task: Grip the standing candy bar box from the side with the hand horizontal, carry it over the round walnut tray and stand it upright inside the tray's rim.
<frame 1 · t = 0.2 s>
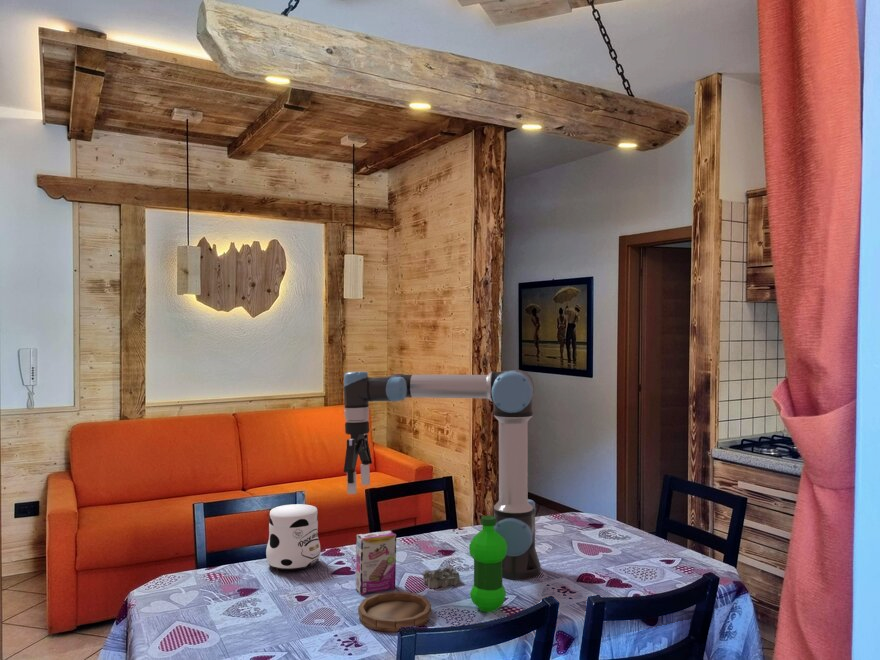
hand: (359, 489, 208), 27 cm above the table, tool pointing down, fingers open, 13 cm apart
plastic bottle: (488, 608, 185), on the table
candy bar box: (375, 590, 198), on the table
tray: (394, 616, 179), on the table
milk container: (293, 565, 218), on the table
egg carton: (440, 584, 203), on the table
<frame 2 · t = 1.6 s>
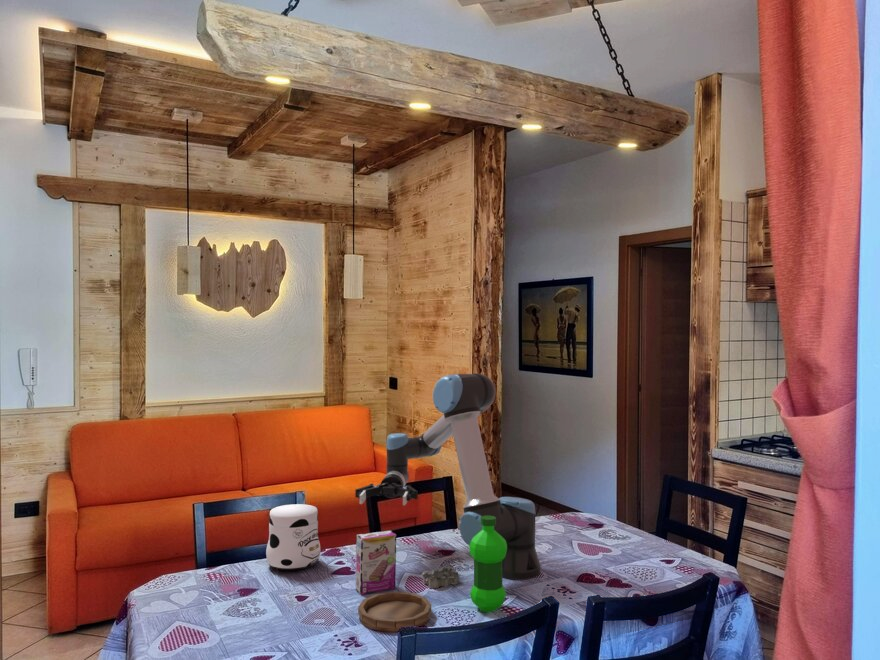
hand: (382, 500, 207), 24 cm above the table, tool horizontal, fingers open, 13 cm apart
nothing on the table moved.
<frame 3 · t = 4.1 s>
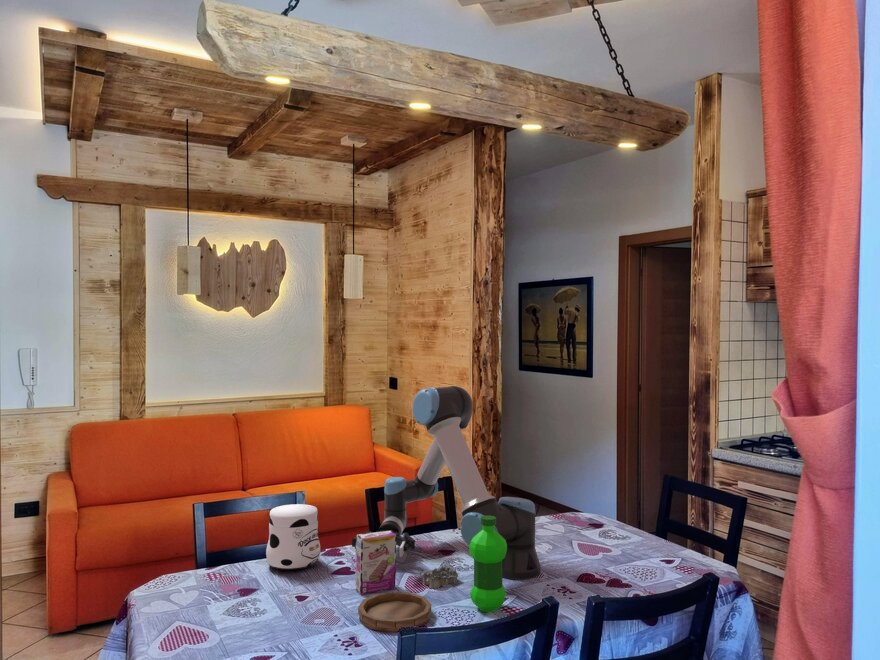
hand: (378, 551, 204), 9 cm above the table, tool horizontal, fingers open, 13 cm apart
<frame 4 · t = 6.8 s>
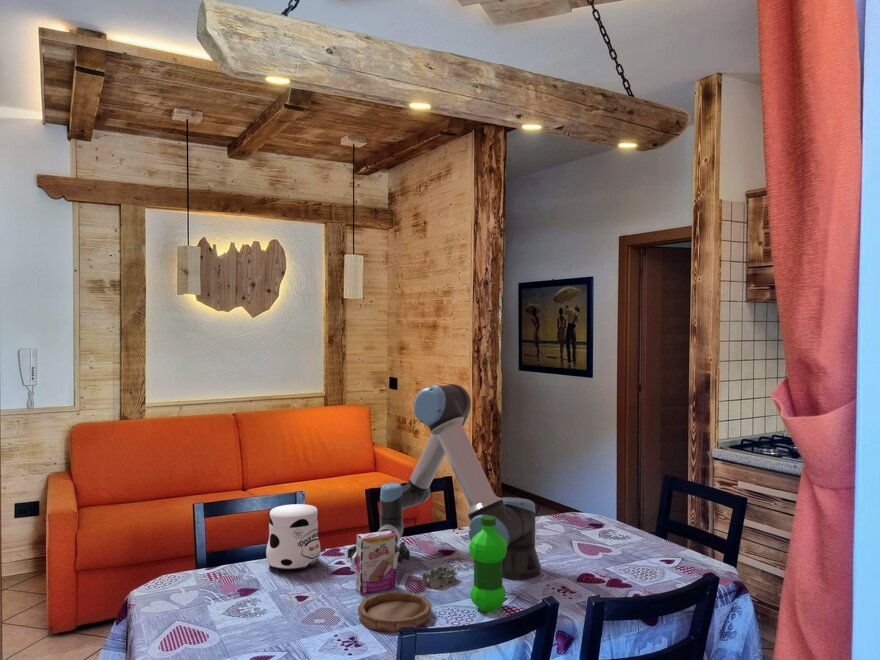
hand: (373, 563, 194), 9 cm above the table, tool horizontal, fingers closed on candy bar box, 12 cm apart
candy bar box: (375, 590, 198), on the table, touching gripper
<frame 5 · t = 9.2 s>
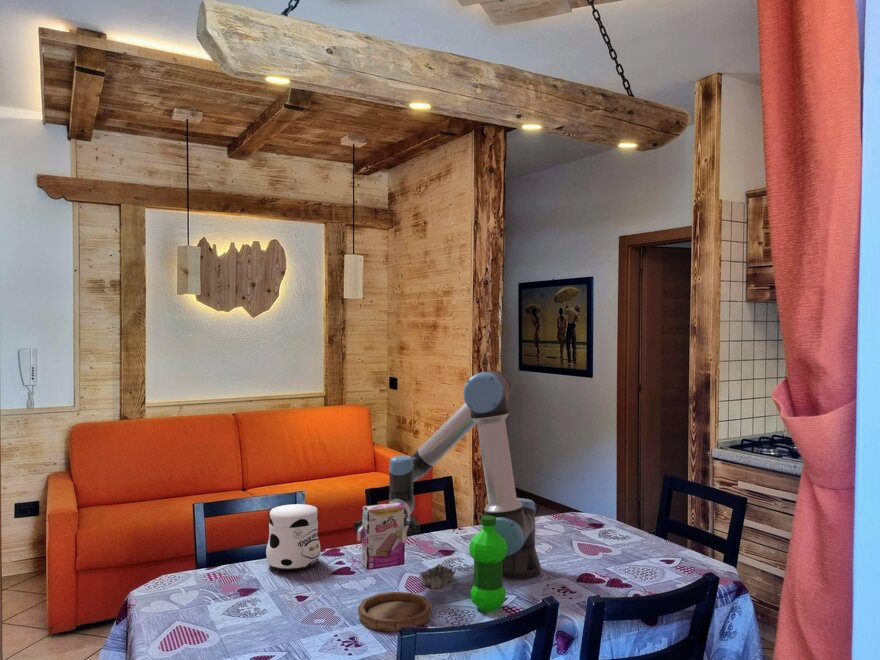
hand: (380, 536, 180), 21 cm above the table, tool horizontal, fingers closed on candy bar box, 12 cm apart
candy bar box: (383, 566, 184), point 12 cm above the table, touching gripper
when the fingers open (11 cm above the table, at t = 12.1 s): candy bar box stays where it is, resting on tray.
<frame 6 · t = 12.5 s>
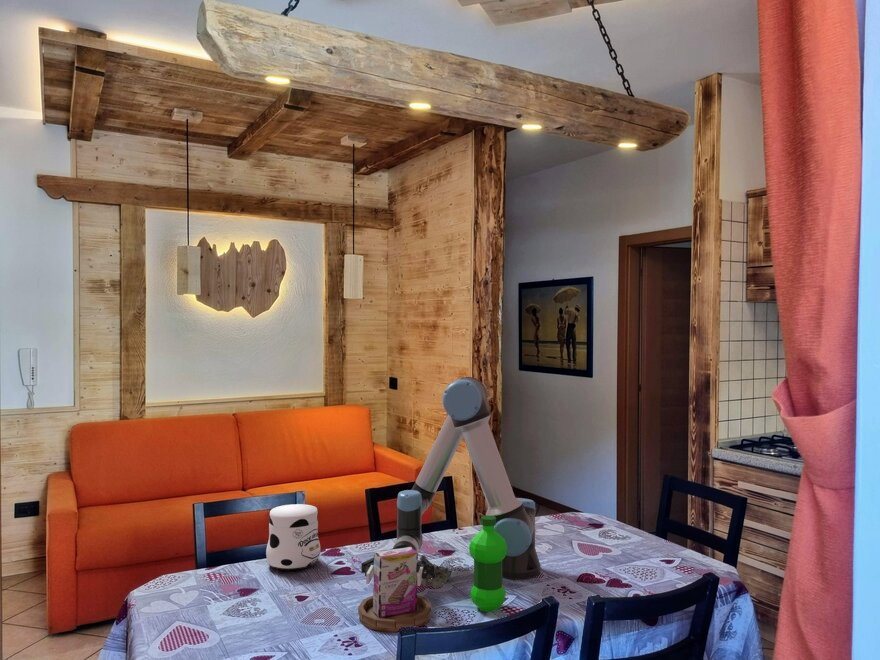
hand: (393, 579, 176), 11 cm above the table, tool horizontal, fingers open, 13 cm apart
candy bar box: (395, 613, 179), point 1 cm above the table, touching tray
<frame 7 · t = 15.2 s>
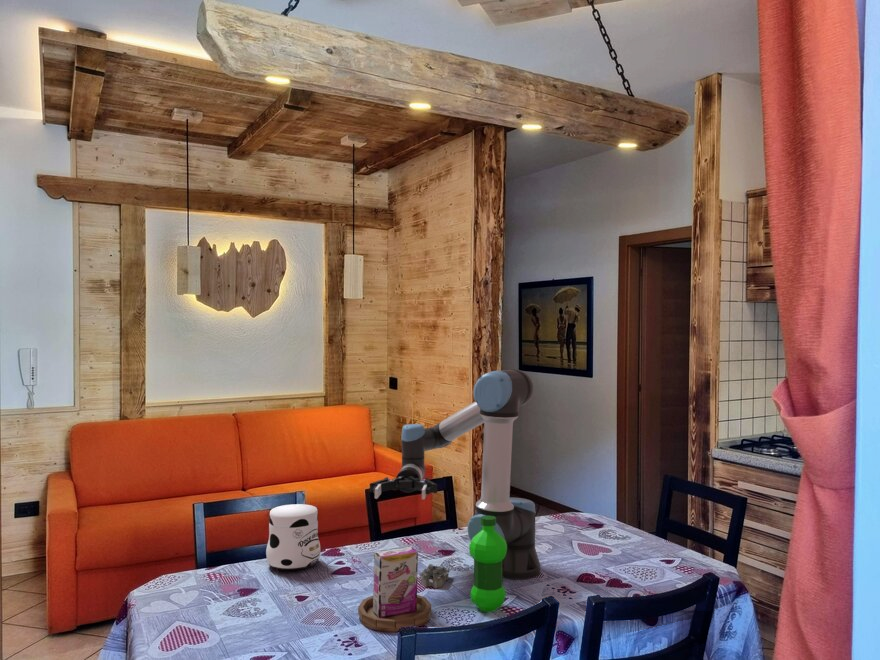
hand: (399, 494, 191), 30 cm above the table, tool horizontal, fingers open, 13 cm apart
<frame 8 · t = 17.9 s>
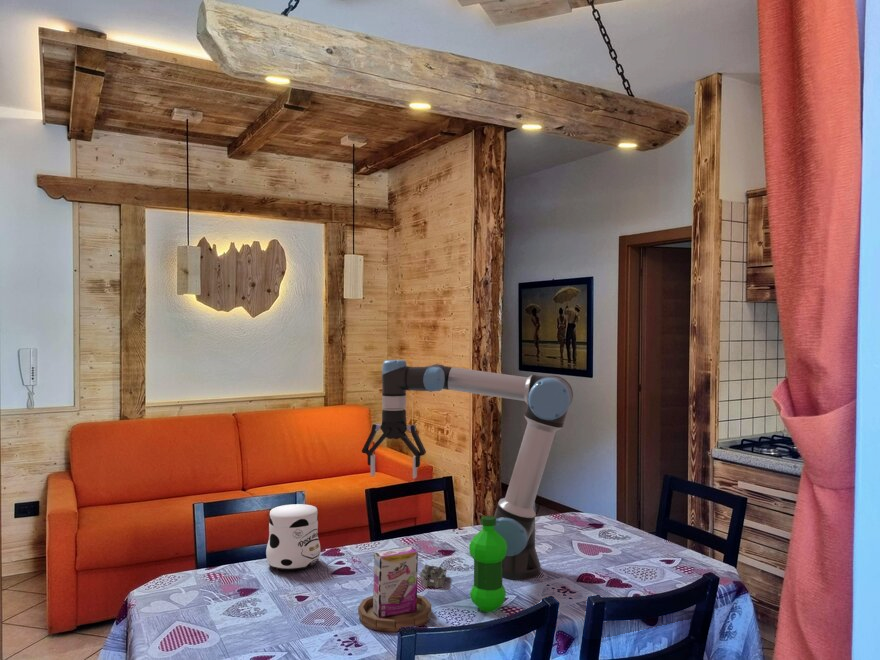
hand: (393, 476, 210), 31 cm above the table, tool pointing down, fingers open, 13 cm apart
at the end: candy bar box 0.1 cm from the tray (horizontally); candy bar box tilted 0°; the gripper is holding nothing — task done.
